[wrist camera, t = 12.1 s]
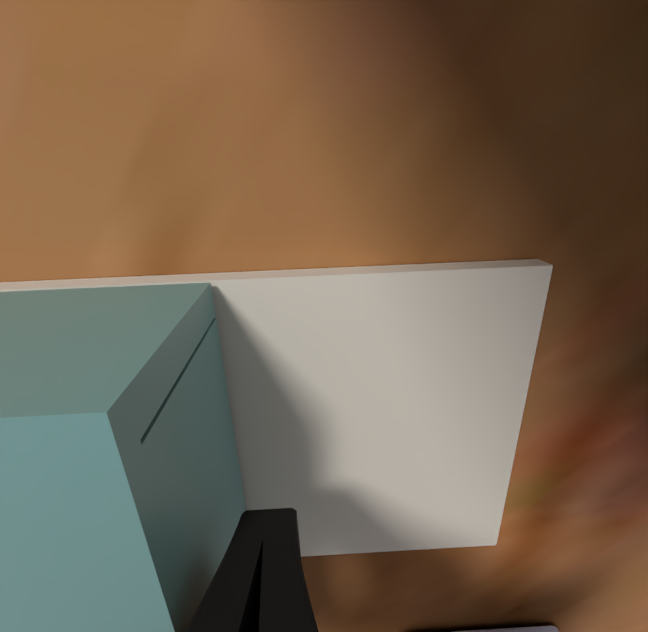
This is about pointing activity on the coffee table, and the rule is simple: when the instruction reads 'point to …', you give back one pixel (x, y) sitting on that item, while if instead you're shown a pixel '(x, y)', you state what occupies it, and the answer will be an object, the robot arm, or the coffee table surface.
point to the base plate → (374, 394)
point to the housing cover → (113, 458)
